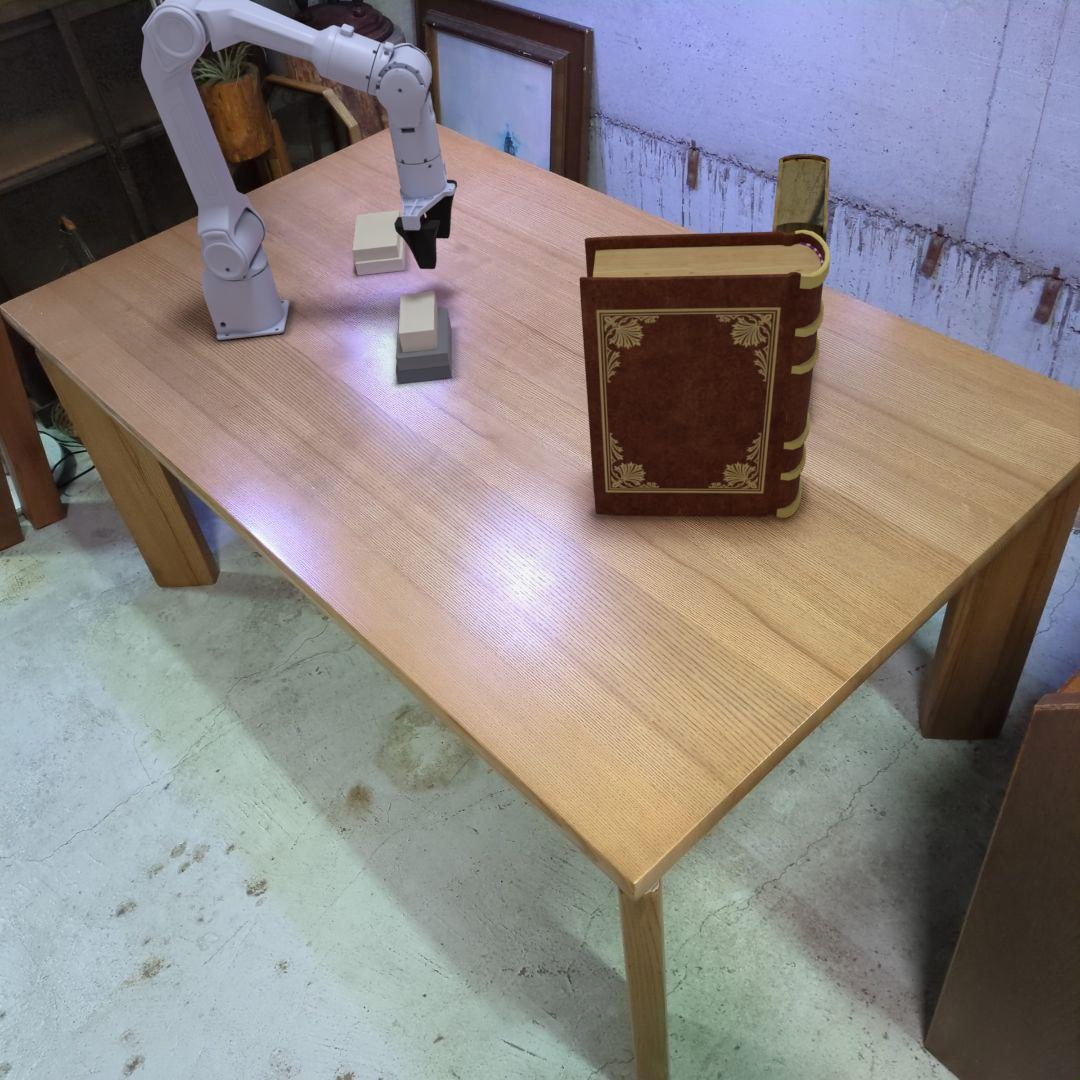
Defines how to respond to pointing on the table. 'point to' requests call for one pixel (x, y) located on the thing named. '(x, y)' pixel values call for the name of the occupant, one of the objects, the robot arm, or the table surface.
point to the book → (802, 194)
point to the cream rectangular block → (418, 322)
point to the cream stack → (378, 243)
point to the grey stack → (427, 356)
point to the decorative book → (701, 370)
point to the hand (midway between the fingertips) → (434, 252)
